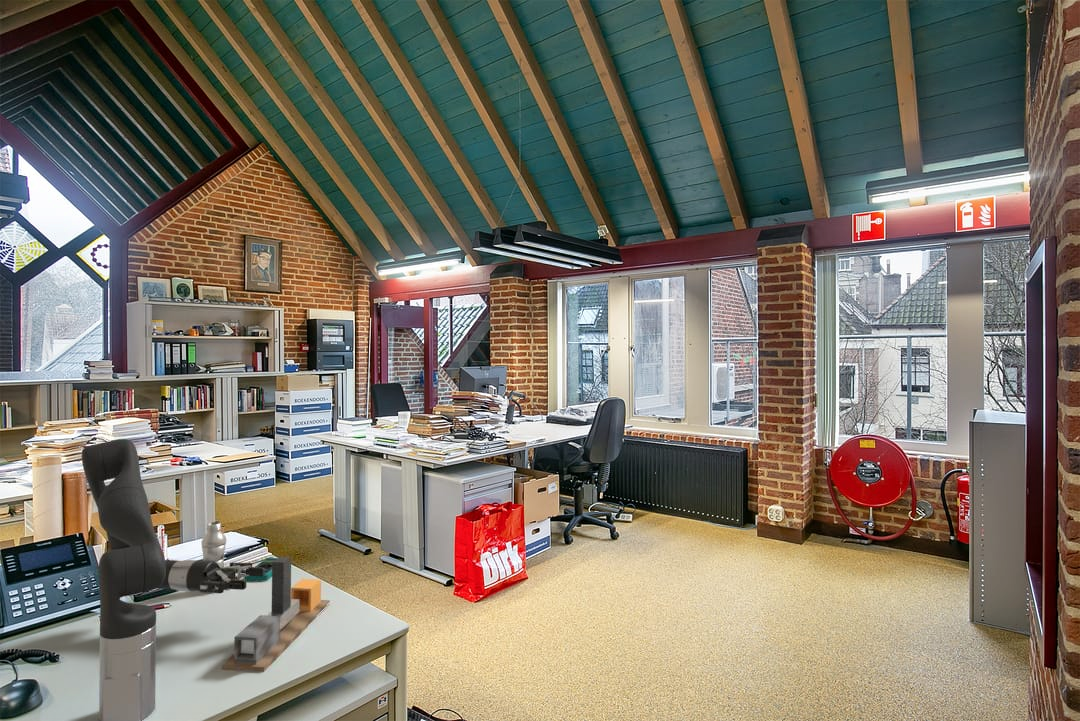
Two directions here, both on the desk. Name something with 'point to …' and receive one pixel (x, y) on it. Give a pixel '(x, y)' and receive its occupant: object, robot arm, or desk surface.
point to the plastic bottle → (214, 544)
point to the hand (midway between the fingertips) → (254, 578)
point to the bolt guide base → (269, 639)
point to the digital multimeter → (267, 570)
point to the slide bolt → (278, 598)
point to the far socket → (307, 593)
